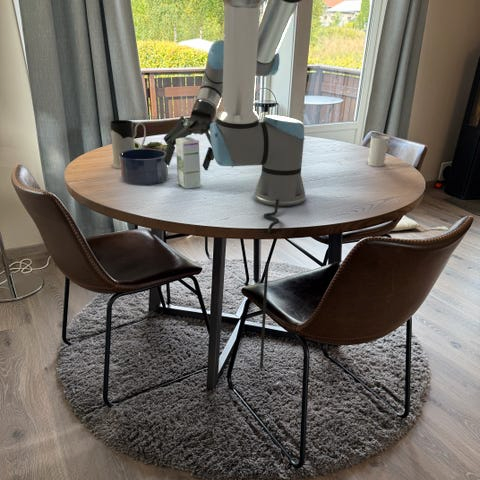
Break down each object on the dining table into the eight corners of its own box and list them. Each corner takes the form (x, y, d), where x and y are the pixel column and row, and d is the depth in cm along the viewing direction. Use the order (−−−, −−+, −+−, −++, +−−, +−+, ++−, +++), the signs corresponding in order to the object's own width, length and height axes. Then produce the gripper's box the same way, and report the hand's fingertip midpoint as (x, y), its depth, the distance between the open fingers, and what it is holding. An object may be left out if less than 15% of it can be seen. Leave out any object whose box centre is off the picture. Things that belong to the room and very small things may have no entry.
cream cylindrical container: (386, 166, 186) (391, 139, 181) (369, 166, 186) (373, 138, 181) (382, 162, 192) (386, 135, 187) (365, 162, 192) (369, 135, 187)
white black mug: (108, 165, 179) (103, 121, 172) (140, 159, 188) (137, 117, 180) (122, 170, 174) (117, 125, 166) (154, 163, 183) (151, 120, 175)
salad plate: (162, 145, 208) (162, 134, 206) (184, 154, 196) (184, 142, 193) (120, 151, 198) (118, 139, 196) (139, 160, 186) (138, 148, 184)
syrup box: (201, 186, 159) (200, 140, 152) (184, 189, 157) (182, 141, 149) (193, 182, 164) (192, 136, 156) (177, 184, 161) (175, 138, 153)
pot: (166, 185, 160) (165, 160, 156) (118, 184, 159) (115, 159, 155) (170, 172, 173) (168, 148, 169) (125, 172, 172) (123, 148, 168)
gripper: (244, 118, 159) (225, 176, 155) (175, 111, 167) (155, 167, 163) (238, 102, 152) (217, 163, 148) (167, 96, 160) (145, 154, 156)
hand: (185, 165), depth 155 cm, fingers open, 13 cm apart
